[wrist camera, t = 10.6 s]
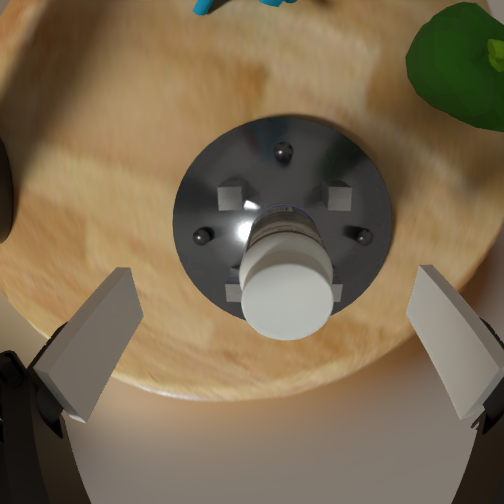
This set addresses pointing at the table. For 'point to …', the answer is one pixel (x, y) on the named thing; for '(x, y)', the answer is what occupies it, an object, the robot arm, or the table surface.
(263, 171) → the hub
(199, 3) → the gear
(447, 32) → the bell pepper
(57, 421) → the robot arm
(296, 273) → the pill bottle
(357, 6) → the table surface
